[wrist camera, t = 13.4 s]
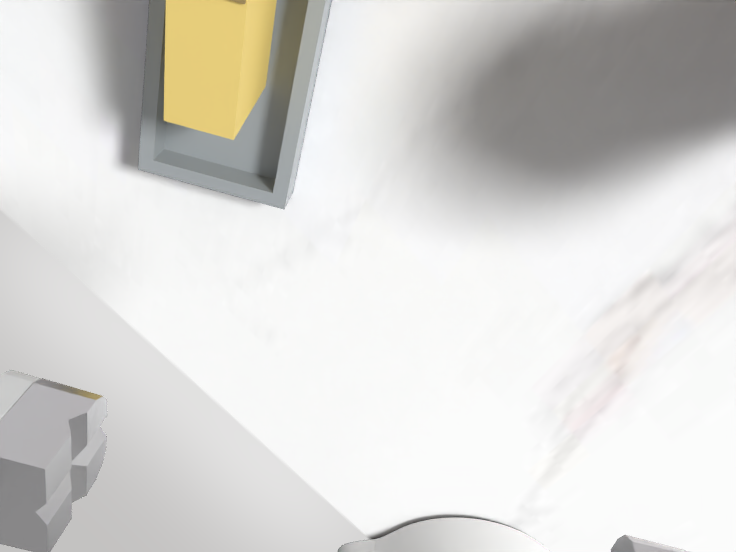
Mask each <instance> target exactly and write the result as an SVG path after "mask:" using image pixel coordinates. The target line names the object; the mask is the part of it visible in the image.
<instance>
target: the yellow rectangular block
mask: <svg viewBox="0 0 736 552" xmlns="http://www.w3.org/2000/svg"><path fill="white" fill-rule="evenodd" d="M276 3H277V0H166V17H165V72H164V121H167V122H170V123H174V124H177V125H181V126H185V127H188V128H192V129H195V130H199V131H203V132H206V133H210V134H213V135H217V136H221V137H224V138H228V139H231V140H234V139H235V137H236V135H237V134H238V132H239V130H240V129H241V127H242V125H243V124H244V122H245V120H246V119H247V117H248V115H249V114H250V112H251V110H252V109H253V107H254V105H255V104H256V102H257V100H258V99H259V97H260V95H261V93H262V92H263V90H264V88H265V87H266V81H267V73H268V65H269V57H270V50H271V42H272V34H273V26H274V18H275V10H276Z"/></svg>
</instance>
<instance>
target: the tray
mask: <svg viewBox="0 0 736 552" xmlns="http://www.w3.org/2000/svg"><path fill="white" fill-rule="evenodd" d="M331 2H332V0H277V3H276V10H275V18H274V26H273V34H272V42H271V50H270V57H269V65H268V73H267V81H266V87H265V88H264V90H263V92H262V93H261V95H260V97H259V99H258V100H257V102H256V104H255V105H254V107H253V109H252V110H251V112H250V114H249V115H248V117H247V119H246V120H245V122H244V124H243V125H242V127H241V129H240V130H239V132H238V134H237V135H236V137H235V139H234V140H231V139H228V138H224V137H221V136H217V135H213V134H210V133H206V132H203V131H199V130H195V129H192V128H188V127H185V126H181V125H177V124H174V123H170V122H167V121H164V72H165V17H166V0H149V14H148V29H147V44H146V59H145V74H144V89H143V104H142V119H141V134H140V149H139V164H138V170H142V171H146V172H149V173H153V174H157V175H160V176H164V177H168V178H171V179H175V180H179V181H182V182H186V183H190V184H193V185H197V186H201V187H204V188H208V189H211V190H215V191H219V192H222V193H226V194H230V195H233V196H237V197H241V198H244V199H248V200H252V201H255V202H259V203H263V204H266V205H270V206H274V207H277V208H281V209H285V207H286V205H287V203H288V201H289V199H290V197H291V195H292V193H293V189H294V184H295V180H296V175H297V170H298V165H299V160H300V155H301V150H302V145H303V140H304V135H305V130H306V125H307V120H308V115H309V110H310V106H311V101H312V96H313V91H314V86H315V81H316V76H317V71H318V66H319V61H320V56H321V51H322V46H323V41H324V36H325V32H326V27H327V22H328V17H329V12H330V7H331Z"/></svg>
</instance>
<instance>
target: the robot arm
mask: <svg viewBox="0 0 736 552" xmlns="http://www.w3.org/2000/svg"><path fill="white" fill-rule="evenodd" d="M106 417H107V399H106V398H105V397H103V396H100V395H97V394H94V393H90V392H87V391H83V390H80V389H77V388H73V387H70V386H67V385H63V384H60V383H57V382H53V381H50V380H46V379H43V378H42V379H41V378H37V377H34V376H31V375H27V374H24V373H20V372H17V371H14V370H9V371H7V372H5V373H3V374H1V375H0V544H3V545H7V546H11V547H15V548H20V549H24V550H28V551H33V552H50V551H51V550H52V548H53V547H54V545H55V544H56V542H57V540H58V539H59V537H60V536H61V534H62V533H63V531H64V530H65V528H66V526H67V525H68V523H69V522H70V520H71V516H72V515H71V512H72V511H71V510H72V502H74V501H76V500H78V499H80V498H82V497H84V496H86V495H87V493H88V492H89V490H90V488H91V487H92V485H93V484H94V482H95V480H96V478H97V475H98V473H99V471H100V468H101V466H102V463H103V460H104V455H105V451H106V442H107V436H106V434H105V433H104V432H103V430H102V429H101V427H100V425H101V424H102V422H103V421H104V419H105V418H106ZM338 552H550V551H549V550H548V549H547V548H546V547H545V546H543V545H542V544H541V543H539V542H538V541H537V540H535V539H533V538H532V537H530V536H528V535H527V534H525V533H523V532H521V531H518V530H516V529H514V528H511V527H508V526H505V525H502V524H499V523H495V522H491V521H486V520H480V519H472V518H438V519H430V520H425V521H421V522H417V523H413V524H410V525H407V526H405V527H402V528H400V529H398V530H396V531H394V532H392V533H390V534H388V535H386V536H383V537H381V538H378V539H372V540H363V541H357V542H351V543H347V544H344V545H342V546H341V547H340V548H339V549H338ZM611 552H687V551H686V550H682V549H679V548H675V547H671V546H667V545H663V544H659V543H655V542H651V541H647V540H643V539H639V538H636V537H632V536H628V535H624V536H622V537H620V538H619V539H617V541H616V543H615V544H614V546H613V547H612V549H611Z"/></svg>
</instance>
